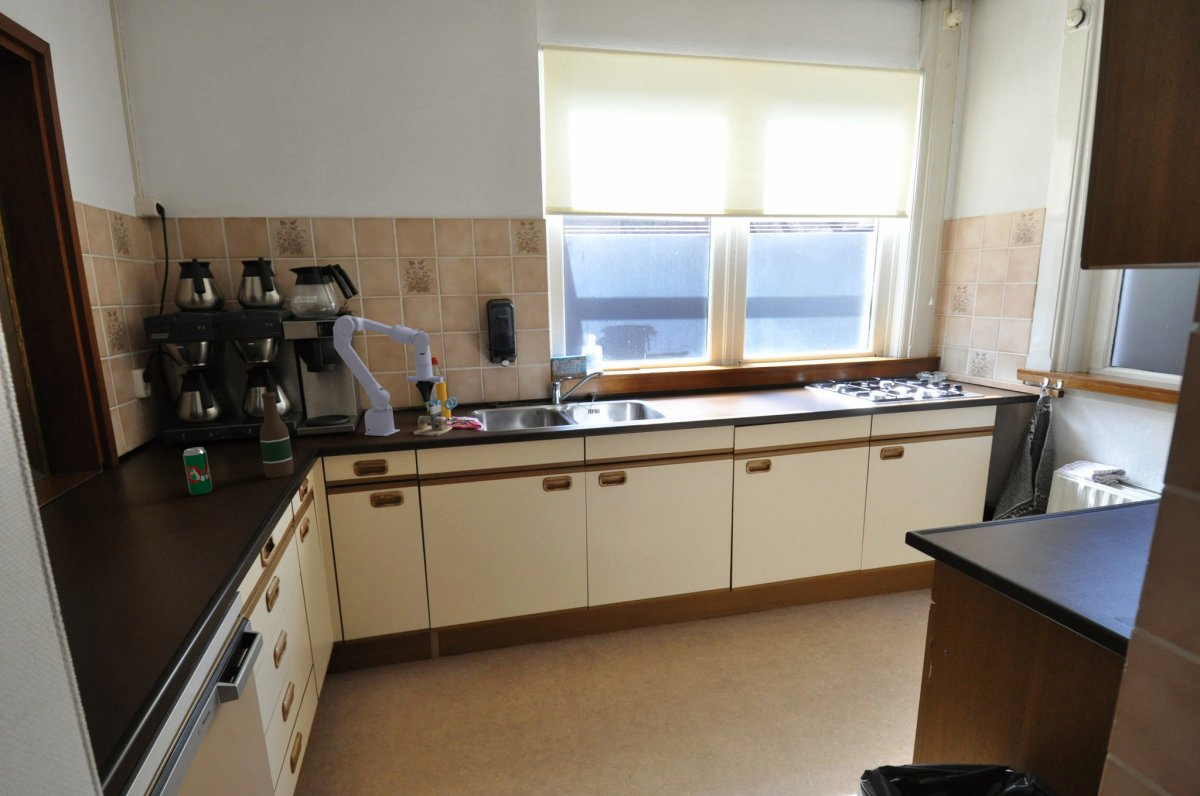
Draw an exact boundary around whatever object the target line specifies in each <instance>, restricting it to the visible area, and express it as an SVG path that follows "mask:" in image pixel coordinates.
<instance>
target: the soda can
mask: <svg viewBox="0 0 1200 796" xmlns="http://www.w3.org/2000/svg"><path fill="white" fill-rule="evenodd" d="M182 457H183V462H184V468H185V474H186V479H187V485H188V490H189V494H190V495H192V496H202V495H206V494H209V493H210V492H212V490H213V483H212V477H211V472H210V467H209V466H210V465H209V461H208V453H207V451H206V449H205V448H204V447H202V446H197V447H190V448H187V449H185V450H184V451H183V454H182Z"/></svg>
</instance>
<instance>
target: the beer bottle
mask: <svg viewBox="0 0 1200 796" xmlns="http://www.w3.org/2000/svg"><path fill="white" fill-rule="evenodd" d="M276 396H277V395H276V392H274V391H268V392H263V393H262V394H261V399H262V404H263V405H262V406H263V415H264V416H263V418H264V419H263V423H262V425H261V427H260V430H259V444H260V449H261V451H260V452H261V456H262V464H263V470H264V474H265V475H264V476H265V477H266V478H267V477H268V478H269V479H278V478H279V479H280V478H285V477H287V476H290V475H293V474H294V461H293V454H292V453H293V452H292V448H291V447H292V445H291V439H290V433H289V429H288V427H287V425H286V423H285V422H284V421H283V420H282V419H281V417H280V415H279V410H278V405H277V401H276Z"/></svg>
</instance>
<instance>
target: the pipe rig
mask: <svg viewBox="0 0 1200 796" xmlns="http://www.w3.org/2000/svg"><path fill="white" fill-rule="evenodd" d="M435 422H436V424H438V428H436V429H432V428H431V425H428V424H431V417H430V415H429V416H428V415H419V416H418V420H417V429H416V430H414V431H413V435H418V436H419V435H420V436H422V435H423V436H434V435H436V436H435V437H439V436H441V435H443V434H446V433H447V432H450V431H452V430H453V427H452V426H448V421H447V419H446V418H445V417H438V416H435ZM451 429H452V430H451ZM449 430H450V431H449ZM440 434H441V435H440ZM438 435H439V436H438Z"/></svg>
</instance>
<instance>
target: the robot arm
mask: <svg viewBox="0 0 1200 796" xmlns="http://www.w3.org/2000/svg"><path fill="white" fill-rule="evenodd" d="M364 330H368V331H371V332H375V333H379V334H383V335H387V336H389V337H390V339H392V341H396V342H398V343H402V344H406V345H409V346H410V345H413V346H414V347H413V348H414V352H413V354H414V355H413V356H414V366H415V367H414V368H415V375H409V376H406V377H405V378H406V382H407V383H409V382H410V383H415V388H417V390H418V391H419V393H420V396H421V398H422V401H423V402H424V403H427V402H429V401H430V400H431V395H432V392H433V389H434V388H435V387H434V386H435V382H438V383H442V382H445V381H444V376H437V375H433V367H432V366H433V365H432V364H433V363H432V354H431V351H430V350H431V348H430V347H431V346H430V342H431V339H430V336H429V334H428V333H427V332H426V331H423V330H418V328H411V327H406V326H405V325H404V324H403V323H400V324H395V325H393V326H392V325H391V326H390V325H388V324H383V323H382V322H379V321H376V320H372V319H368V318H365V317H361V316H353V315H349V314H346V315H345V314H344V315H343V316H339V317H338V318H337V319H336V320H335V322H334V325H333V327H332V331H333V348H334V349H335V350H336V352H337V353H338V355H339V356H340V358H341V359H342V360H343V362H344V363H345V364H346V366H347V367H348V369H349V370H350V371H351V372H352V374H353V376H354V377H355V378H356V379H357V381H358V383H359V384H360V385H361V386H362V387H363V390H364V391H365V393H366V396H367V397H368V399H369V402H370V406H371V408H369V409H367V410H366V411H365V413H364V425H365V433H364V435H365V436H379V437H380V436H381V437H388V436H390V435H392V434H395V433H397V432H401V430H400V429H396V428H395V422H394V413H393V406H391V404H390V402H391V398H392V397H391V394H390V392H389V391H388V390H387V389H385V388H383V386H381V384H380V383H379V382H378V381H377V380H376V379H375V377H374V376H373V375H372V373H371V372H370V371H369V369H368V368H367V366H366V365H365V364H364V362H363V361H362V359H361V358H360V357H359V355H358V354H357V352H356V351H355V350H354V348H353V347H352V346H351V343H352V342H351V341H352V338H353V335H354V334H355V332H360V331H364Z"/></svg>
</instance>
